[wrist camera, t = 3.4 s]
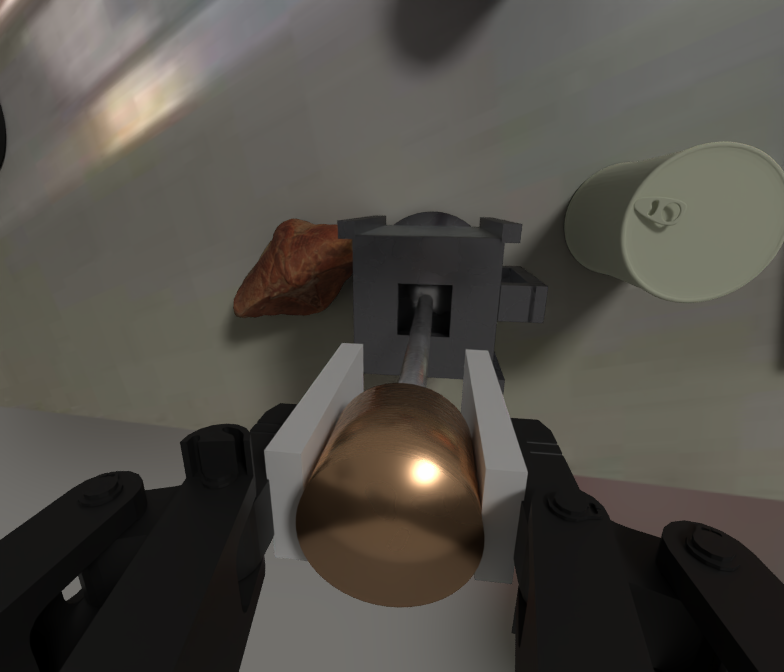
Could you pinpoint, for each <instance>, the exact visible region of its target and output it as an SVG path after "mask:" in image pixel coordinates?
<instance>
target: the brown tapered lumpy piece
mask: <svg viewBox="0 0 784 672" xmlns="http://www.w3.org/2000/svg"><path fill="white" fill-rule="evenodd" d="M352 274H353V249H352V239H338V225H326V224H318V225H315V224H312V223H309V222H307V221H303V220H299V219H290V220H287V221H284V222H283V223H281V224H280V225H279V226H278V227H277V228H276V230H275V232H274V234H273V239H272V241H270V243H269V245H268V246H267V247H266V249H265V250H264V252H263V253H262V255H261V257H260V259H259V261H258V262H257V264H256V265H255V266H254V267H253V268H252V270H251V271H250V272H249V273H248V275H247V276H246V278H245V279H244V281H243V283H242V285H241V286H240V288H239V289H238V291H237V294H236V296H235V298H234V307H233V308H234V313H235V315H236V316H237V317H242V318H247V317H259V316H263V315H279V314H286V315H304V316H305V315H310V314H314V313H319V312H321V311H323V310H324V309H325V308H327V307H328V306H329V304H330V303H331V302H332V301H333V300H334V299H335V298H336V296H337V295H338V293H339V292H340V290H341V287H342V285H343V283H344V282H345V281H346V280H347V279H348V278H349V277H350V276H351V275H352Z"/></svg>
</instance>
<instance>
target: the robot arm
mask: <svg viewBox="0 0 784 672" xmlns="http://www.w3.org/2000/svg"><path fill="white" fill-rule="evenodd" d="M4 149H5V124H4V118H3V113H2V109H1V105H0V165H1V162H2V159H3V155H4ZM363 392H364V386H363V344H352V343H342V344H341V345H340V346H339V348H338V349H337V351H336V352H335V353H334V355H333V356H332V358H331V359H330V360H329V362H328V363H327V364H326V366H325V367H324V369H323V370H322V371H321V373H320V374H319V375H318V377H317V378H316V380H315V381H314V382H313V384H312V385H311V387H310V388H309V389H308V391H307V392H306V393H305V395H304V396H303V398H302V399H301V400H300V402H299V403H298V404H283V403H280V404H278V405H277V406H275V407H273V408H271V409H270V410H268V411H266V412H265V413H264V415H263V416H262V417H261V418H260V419H259V421H258V422H257V424H255V425H254V426H253V428H252V429H251V430H250V432H249V431H248V430H247V428H245V427H242V426H240V425H236V424H219V425H212V426H209V427H205V428H202V429H199V430H197V431H195V432H193V433H191V434H189V435H188V436H187V437H185V438H184V439H183V440H182V441H181V442H180V445H181V450H182V456H183V462H184V467H185V473H186V479H185V481H184V482H183V484H182V485H180V486H175V487H167V488H159V489H152V490H145V489H144V484H143V480H142V479H141V477H140V476H139V474H136V473H133V472H131V471H116V472H110V473H104V474H101V475H98V476H96V477H94V478H91V479H89V480H86V481H84V482H83V483H81V484H79V485H77V486H76V487H74V488H72V489H71V490H70V491H68V492H67V493H66V494H64V495H63V496H61V497H60V498H58V499H57V500H55V501H54V502H53V503H51V504H50V505H48V506H47V507H46V508H45V509H43V510H41V511H40V512H39V513H37V514H36V515H35V516H33V517H32V518H30V519H29V520H27V521H26V522H25V523H23V524H22V525H21V526H19V527H18V528H16V529H15V530H14V531H12V532H11V533H9V534H8V535H6V536H5V537H4V538H2V539H1V540H0V672H239V669H240V665H241V661H242V658H243V654H244V651H245V647H246V643H247V640H248V636H249V632H250V628H251V624H252V621H253V617H254V614H255V610H256V606H257V602H258V599H259V595H260V591H261V588H262V584H263V580H264V577H265V558H264V554H265V552H266V550H267V548H268V546H269V544H270V543H271V541H272V539H273V543H274V553H275V557H276V558H286V559H295V560H304V561H308V560H307V558H306V557H305V555H304V553H303V551H302V549H301V547H300V544H299V541H298V538H297V533H296V512H297V507H298V504H299V501H300V498H301V496H302V494H303V492H304V490H305V488H306V486H307V484H308V481H309V479H310V477H311V475H312V473H313V471H314V469H315V467H316V465H317V463H318V461H319V459H320V457H321V454H322V452H323V450H324V448H325V446H326V444H327V442H328V440H329V438H330V436H331V434H332V432H333V430H334V428H335V425H336V423H337V421H338V419H339V417H340V415H341V413H342V412H343V410H344V409H345V407H346V406H347V405H348V404H349V403H350V402H351V401H352V400H353V399H354V398H355V397H357V396H358V395H359V394H361V393H363ZM461 414H462V416H463V417H464V419H465V420H466V423H467V425H468V427H469V430H470V433H471V438H472V445H473V453H474V460H475V468H476V476H477V483H478V491H479V498H480V506H481V513H482V521H483V528H484V536H485V539H484V551H483V556H482V559H481V561H480V564H479V566H478V568H477V570H476V571H475V573H474V578H475V580H481V581H490V582H498V583H508V584H512V579H513V573H514V566H515V569H516V574H517V579H518V583H519V586H518V593H517V600H516V606H515V613H514V620H513V626H512V633H514V634H515V638H516V639H515V641H516V642H515V672H784V584H783V583H782V582H781V581H780V580H779V579H778V578H777V577H776V576H775V575H774V574H773V573H772V572H771V571H770V570H769V569H768V568H767V567H766V566H765V565H764V564H763V563H762V561H761V560H760V559H759V558H757V556H756V555H755V554H753V553H752V552H751V551H750V550H749V549H748V548H746V547H745V546H744V545H743V544H741V543H740V542H739V541H737V540H736V539H734V538H732V537H731V536H729V535H727V534H726V533H724V532H722V531H720V530H718V529H715V528H713V527H710V526H707V525H704V524H702V523H696V522H690V521H675V522H671V523H669V524H668V525H667V526H665V527H664V529H663V532H662V536H661V538H659V537H656V536H653V535H650V534H646V533H643V532H640V531H637V530H634V529H631V528H628V527H625V526H623V525H620V524H617V523H615V522H613V521H611V520H610V518H609V515H608V514H607V512H606V510H605V508H604V507H603V506H602V505H601V504H600V503H599V502H598V501H597V500H596V499H595V498H594V497H592V496H590V495H588V494H586V493H585V492H583V491H581V490H580V489H579V487H578V485H577V483H576V481H575V479H574V477H573V474H572V472H571V470H570V468H569V466H568V464H567V462H566V460H565V458H564V456H562V452H561V450H560V448H559V446H558V445H557V442H556V440H555V438H554V436H553V434H552V432H551V430H550V429H548V428H547V427H546V426H545V425H544V424H542V423H541V422H540V421H539V420H533V419H518V418H510V416H509V413H508V410H507V407H506V404H505V401H504V398H503V395H502V392H501V389H500V385H499V382H498V379H497V376H496V373H495V370H494V367H493V364H492V361H491V358H490V355H489V352H488V351H487V350H468V349H466V351H465V364H464V377H463V390H462V403H461ZM77 576H78V577H79V580H80V584H81V586H82V589H81V590H80V591H79V592H78V593H77V594H76V595H74V596H73V597H71V598H70V599H69V600H67V601H65V600H64V598H63V594H62V590H63V589H64V588H65V587H66V586H67V585H69V584H70V582H72V581H73V580H74V579H75V578H76V577H77Z"/></svg>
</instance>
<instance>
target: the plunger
mask: <svg viewBox="0 0 784 672" xmlns="http://www.w3.org/2000/svg"><path fill="white" fill-rule="evenodd" d="M451 297H452V285H430V284H401V283H399V325H398V331H407V332H410V335H409V340H408V344H407V348H406V352H405V356H404V360H403V364H402V368H401V372H400V376H399V380H398V383H390V384H384V385H380V386H376V387H373V388H371V389H368V390H366V391H364V392H363V393H361V394H359V395H358V396H357V397H355V398H354V399H353V400H352V401H351V402H350V403H349V404H348V405H347V406H346V407H345V409H344V410H343V412H342V413H341V415H340V417H339V419H338V421H337V423H336V425H335V428H334V430H333V432H332V434H331V436H330V438H329V440H328V442H327V444H326V446H325V448H324V450H323V452H322V454H321V457H320V459H319V461H318V463H317V465H316V467H315V469H314V471H313V473H312V475H311V477H310V479H309V481H308V484H307V486H306V488H305V490H304V492H303V494H302V496H301V498H300V501H299V504H298V507H297V512H296V533H297V538H298V541H299V544H300V547H301V549H302V551H303V553H304V555H305V557H306V558H307V560H308V562H309V563H310V564H311V566H312V567H313V568H314V569H315V570H316V572H317V573H318V574H319V575H320V576H321V577H322V578H323V579H325V580H326V581H327V582H328V583H330V584H331V585H332V586H334V587H335V588H337V589H338V590H340V591H342V592H343V593H345V594H348V595H349V596H351V597H353V598H356V599H359V600H361V601H364V602H368V603H371V604H375V605H381V606H387V607H413V606H421V605H426V604H430V603H433V602H436V601H439V600H441V599H444V598H446V597H447V596H449V595H451V594H453V593H454V592H456V591H457V590H459V589H460V588H461V587H462V586H463V585H465V584H466V583H467V582H468V581H469V579H470V578H471V577H472V576H473V575H474V573H475V571H476V570H477V568H478V566H479V564H480V561H481V559H482V556H483V551H484V539H485V536H484V528H483V521H482V513H481V506H480V498H479V491H478V483H477V476H476V468H475V460H474V453H473V445H472V438H471V433H470V430H469V427H468V425H467V423H466V420H465V419H464V417H463V416H462V414H461V413H460V411H459V410H458V409H457V408H456V407H455V406H454V405H453V404H452V403H451V402H450V401H449V400H448V399H446V398H445V397H443V396H442V395H440V394H439V393H437V392H435V391H433V390H431V389H428V388H426V385H427V373H428V360H429V348H430V336H431V333H449V330H450V313H451Z"/></svg>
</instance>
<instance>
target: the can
mask: <svg viewBox="0 0 784 672" xmlns="http://www.w3.org/2000/svg"><path fill="white" fill-rule="evenodd" d="M564 233H565V239H566V242H567V245H568V248H569V250H570V252H571V253H572V255H573V256H574V257H575V259H576V260H577V261H578V262H579V263H580V264H582V265H583V266H584V267H586V268H588V269H590V270H592V271H594V272H597V273H601V274H607V275H610V276H612V277H615V278H617V279H620V280H622V281H625V282H627V283H629V284H632V285H634V286H636V287H639V288H641V289H643V290H645V291H646V292H648V293H650V294H652V295H654V296H655V297H658V298H660V299H664V300H667V301H672V302H679V303H696V302H704V301H709V300H713V299H716V298H719V297H722V296H725V295H727V294H729V293H732V292H734V291H735V290H737V289H739V288H741V287H742V286H744V285H745V284H747V283H748V282H750V281H751V280H752V279H754V278H755V277H756V276H757V275H759V274H760V273H761V272H762V271H763V270H764V268H765V267H766V266H767V265H768V264H769V263H770V262H771V261H772V259H773V258H774V257H775V255H776V254H777V252H778V251H779V249H780V247H781V245H782V244H783V242H784V172H783V170H782V169H781V167H780V166H779V165H778V164H777V163H776V162H775V160H773V159H772V158H771V157H770V156H769V155H767V154H766V153H764V152H763V151H761V150H759V149H757V148H755V147H752V146H750V145H746V144H742V143H736V142H712V143H706V144H701V145H698V146H694V147H691V148H689V149H686V150H684V151H680V152H676V153H672V154H668V155H664V156H659V157H655V158H651V159H647V160H642V161H638V162H624V163H619V164H614V165H611V166H609V167H606V168H604V169H602V170H600V171H598V172H597V173H595V174H594V175H592V176H591V177H590V178H589V179H587V180H586V181H585V182H584V183H583V184H582V185H581V186H580V188H579V189H578V190H577V191H576V193H575V194H574V196H573V198H572V200H571V201H570V204H569V206H568V209H567V212H566V216H565V222H564Z"/></svg>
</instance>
